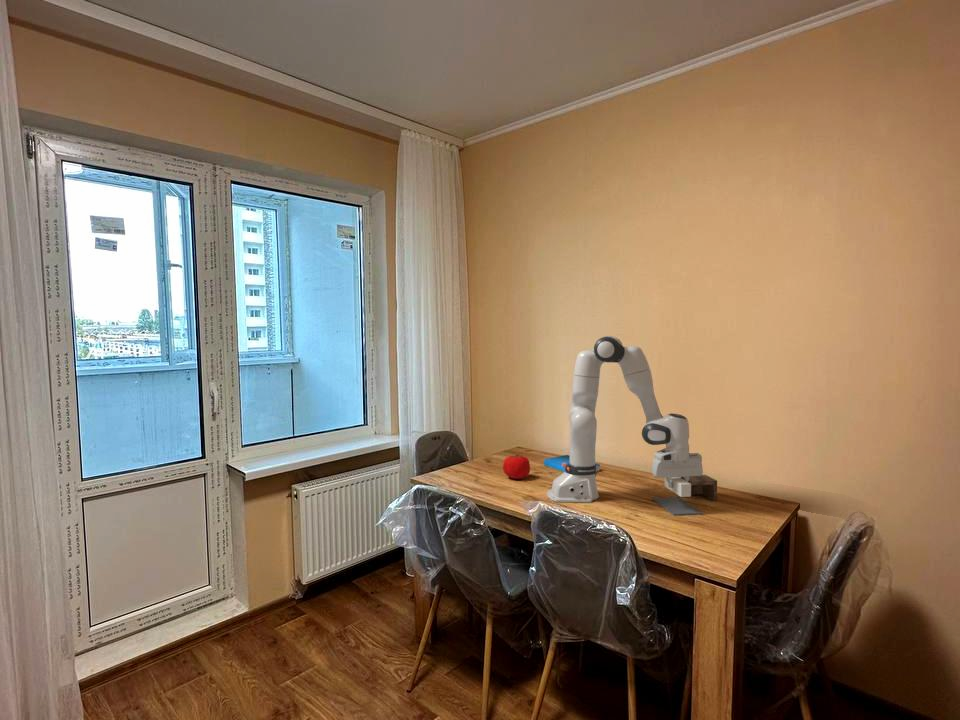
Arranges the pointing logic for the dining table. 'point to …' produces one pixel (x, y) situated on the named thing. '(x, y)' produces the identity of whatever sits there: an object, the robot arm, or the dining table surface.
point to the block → (680, 487)
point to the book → (561, 462)
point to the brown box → (703, 486)
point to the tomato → (516, 466)
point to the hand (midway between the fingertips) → (677, 487)
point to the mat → (677, 506)
